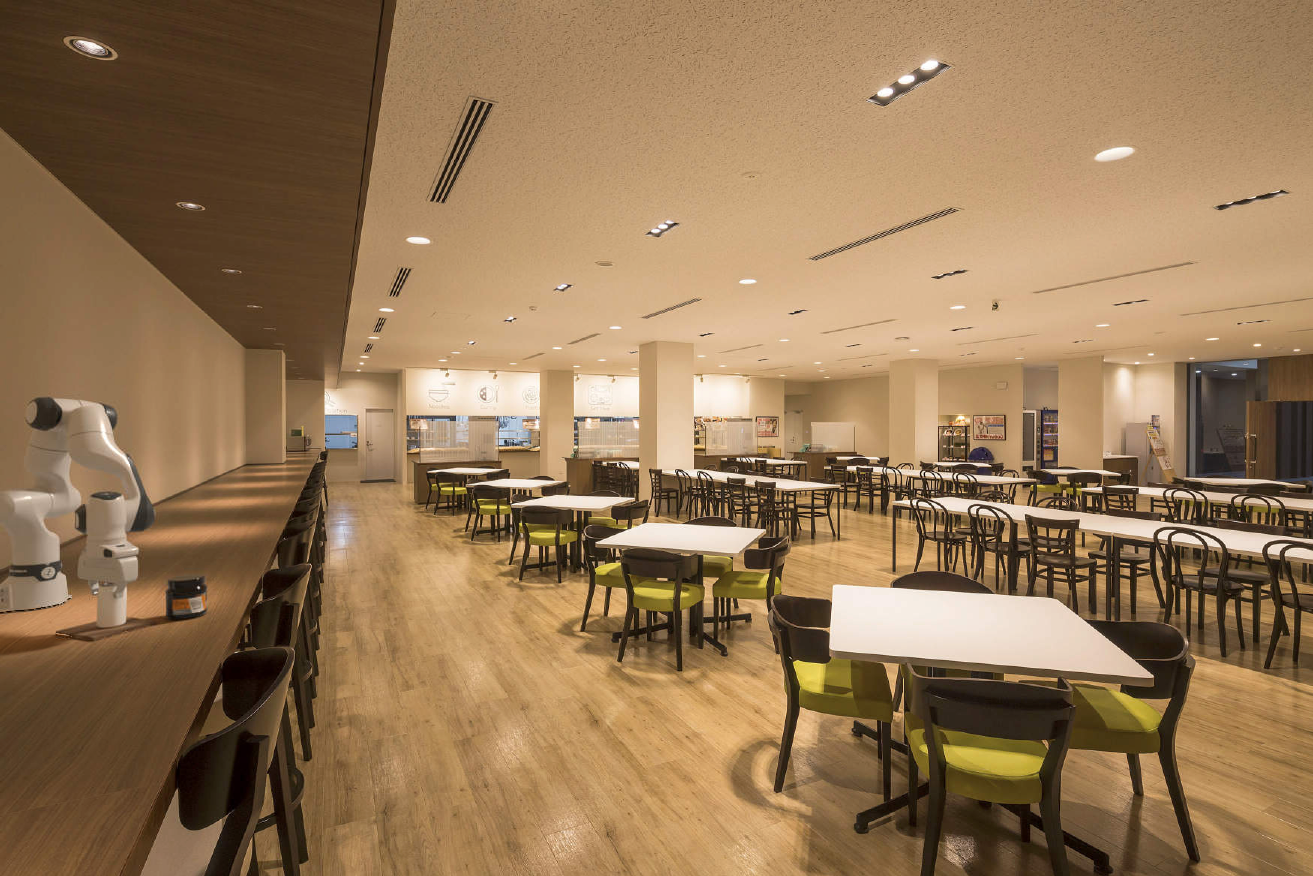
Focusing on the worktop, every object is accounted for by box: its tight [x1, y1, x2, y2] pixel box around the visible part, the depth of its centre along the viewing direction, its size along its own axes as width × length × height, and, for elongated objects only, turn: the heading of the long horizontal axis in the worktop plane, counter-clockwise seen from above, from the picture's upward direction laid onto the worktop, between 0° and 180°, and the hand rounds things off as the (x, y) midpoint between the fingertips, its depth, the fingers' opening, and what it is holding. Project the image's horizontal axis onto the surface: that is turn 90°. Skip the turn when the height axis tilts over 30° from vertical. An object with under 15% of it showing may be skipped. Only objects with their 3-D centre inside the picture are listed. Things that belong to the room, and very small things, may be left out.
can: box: [96, 582, 128, 628], centre depth 184 cm, size 6×6×12 cm
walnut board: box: [55, 616, 157, 642], centre depth 184 cm, size 16×16×1 cm
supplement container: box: [164, 573, 208, 621], centre depth 198 cm, size 10×10×12 cm
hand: (107, 596), depth 184 cm, fingers open, 8 cm apart
